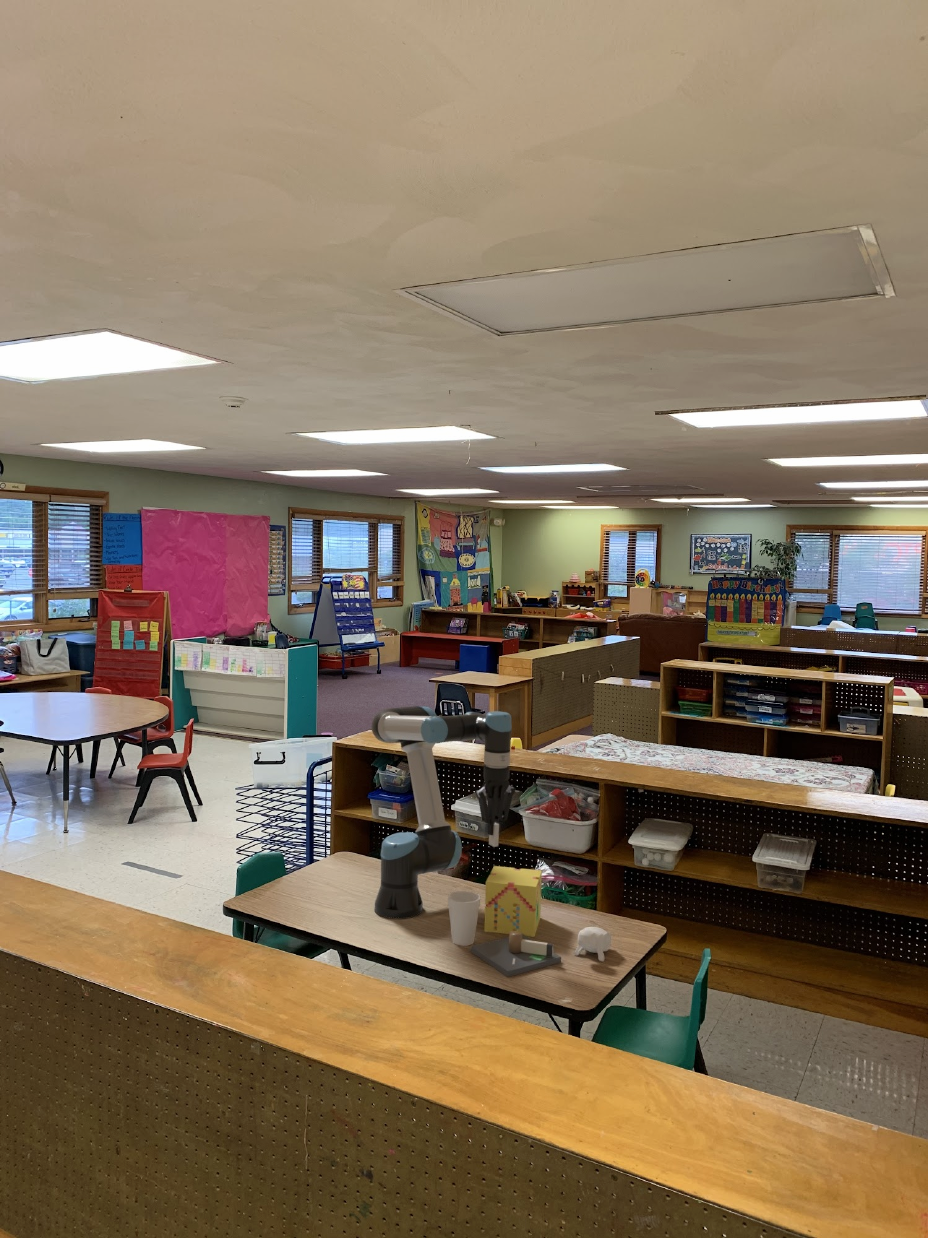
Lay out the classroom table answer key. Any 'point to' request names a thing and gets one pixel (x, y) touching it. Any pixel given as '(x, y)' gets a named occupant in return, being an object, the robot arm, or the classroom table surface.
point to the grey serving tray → (511, 957)
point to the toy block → (513, 900)
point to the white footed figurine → (593, 941)
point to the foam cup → (463, 916)
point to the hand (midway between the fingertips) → (493, 845)
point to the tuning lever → (528, 945)
